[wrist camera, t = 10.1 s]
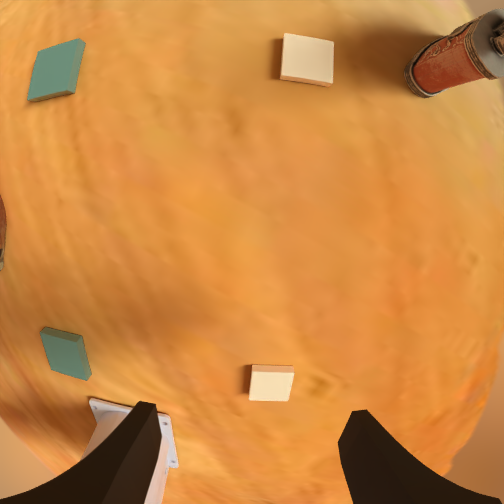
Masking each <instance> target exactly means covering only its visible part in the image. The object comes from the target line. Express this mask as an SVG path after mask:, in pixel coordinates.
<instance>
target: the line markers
mask: <svg viewBox="0 0 504 504" xmlns="http://www.w3.org/2000/svg"><path fill="white" fill-rule="evenodd" d="M84 47H85V42H84V41H82V40H81V39H75V40H72V41H68V42H65V43H62V44H58V45H55V46H52V47H49V48H46V49H44V50H41V51H38V54H37V57H36V61H35V65H34V69H33V73H32V78H31V82H30V87H29V92H28V98H27V100H28V101H33V102H37V101H41V100H45V99H49V98H53V97H58V96H62V95H67V94H72V93H75V89H76V83H77V78H78V73H79V68H80V64H81V60H82V55H83V51H84ZM333 64H334V42H332V41H328V40H323V39H318V38H312V37H307V36H301V35H294V34H287V33H284V37H283V44H282V57H281V70H280V79H282V80H289V81H297V82H303V83H309V84H315V85H321V86H326V87H330V86H331V85H332V84H333ZM40 335H41V339H42V342H43V346H44V349H45V352H46V355H47V358H48V361H49V364H50V367H51V370H53V371H56V372H59V373H62V374H66V375H69V376H72V377H75V378H79V379H82V380H86V381H87V380H88V379H89V377H90V376H91V370H90V366H89V363H88V359H87V355H86V351H85V347H84V343H83V338H82V336H80V335H76V334H72V333H68V332H64V331H60V330H56V329H52V328H48V327H45V328H44V329H43V330H42V331H41V332H40ZM293 377H294V368H293V366H272V365H252V370H251V379H250V388H249V400H258V401H288V399H289V394H290V390H291V386H292V381H293Z"/></svg>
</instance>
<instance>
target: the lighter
mask: <svg viewBox="0 0 504 504" xmlns="http://www.w3.org/2000/svg"><path fill="white" fill-rule="evenodd" d="M404 77H405V80H406V83H407V84H408V86H409V88H410V89H411V90H412V91H413V92H414V93H415V94H416V95H418V96H419V97H422V98H429V97H432V96H435V95H437V94H439V93H441V92H443V91H445V90H447V89H449V88H451V87H454V86H457V85H461V84H464V83H467V82H471V81H475V80H478V79H482V78H487V79H489V80H493V79H497V78H502V77H504V9H495V10H492V11H490V12H488V13H486V14H484V15H482V16H480V17H478V18H476V19H474V20H472V21H470V22H468V23H466V24H464V25H462V26H460V27H458V28H456V29H455V30H454V31H453V32H452V33H451V34H450V35H447V36H443V37H440V38H438V39H436V40H434V41H433V42H431V43H429V44H427V45H426V46H424V47H423V48H422V49H421V50H420V51H419V52H417V53H416V54H415V55H414V56H413V58H412V59H411V61H410V62H409V63H408V65H407V66H406V68H405V70H404Z"/></svg>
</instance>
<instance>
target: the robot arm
mask: <svg viewBox="0 0 504 504" xmlns="http://www.w3.org/2000/svg"><path fill="white" fill-rule="evenodd" d="M89 404H90V406H91V409H92V412H93V414H94V417H95V419H96V422H97V426H96V428H95V430H94V432H93V434H92V437H91V439H90V441H89V443H88V445H87V447H86V449H85V451H84V453H83V456H82V458H81V460H80V462H78V463H77V464H76V465H74V466H73V467H71V468H70V469H69V470H67V471H65V472H64V473H62V474H61V475H59V476H57V477H56V478H54V479H52V480H50V481H48V482H47V483H44V484H42V485H40V486H38V487H36V488H34V489H31V490H29V491H26V492H24V493H20V494H17V495H14V496H11V497H7V498H3V499H0V504H161V503H162V498H163V493H164V489H165V484H166V479H167V474H168V470H169V467H172V468H178V466H179V463H178V458H177V453H176V448H175V442H174V436H173V431H172V425H171V418H170V417H169V416H168V415H167V414H162V413H157V408H156V404H153V403H148V402H142V401H139V402H138V403H137V404H136V405H135V406H134V408H131V407H126V406H122V405H118V404H114V403H110V402H106V401H102V400H98V399H95V398H90V400H89ZM338 447H339V454H340V460H341V465H342V468H343V471H344V475H345V478H346V481H347V484H348V488H349V491H350V494H351V497H352V501H353V504H502V503H501V501H500V499H499V498H495V497H490V496H486V495H482V494H479V493H476V492H473V491H471V490H468V489H465V488H463V487H461V486H459V485H456V484H455V483H453V482H451V481H449V480H447V479H445V478H443V477H442V476H440V475H438V474H437V473H435V472H434V471H432V470H431V469H429V468H428V467H427V466H425V465H424V464H423V463H421V462H420V461H419V460H418V459H416V458H415V457H414V456H413V455H412V454H410V453H409V452H408V451H407V450H406V449H405V448H404V447H403V446H402V445H400V444H399V443H398V442H397V441H396V440H395V439H394V438H393V437H392V436H391V435H390V434H389V433H388V432H387V431H386V430H385V428H384V427H383V426H382V425H381V424H380V423H379V422H378V421H377V420H376V419H375V418H374V417H373V416H372V415H371V414H370V413H369V412H368V411H367V410H359V411H352V413H351V415H350V418H349V420H348V422H347V424H346V426H345V428H344V430H343V432H342V435H341V437H340V439H339V441H338Z"/></svg>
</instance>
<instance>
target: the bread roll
mask: <svg viewBox="0 0 504 504" xmlns="http://www.w3.org/2000/svg"><path fill="white" fill-rule="evenodd" d="M5 230H6V213H5V208H4V204H3V201H2V198H1V196H0V271H1V270H2V268H3V264H4V261H3V255H4V248H5Z"/></svg>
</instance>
